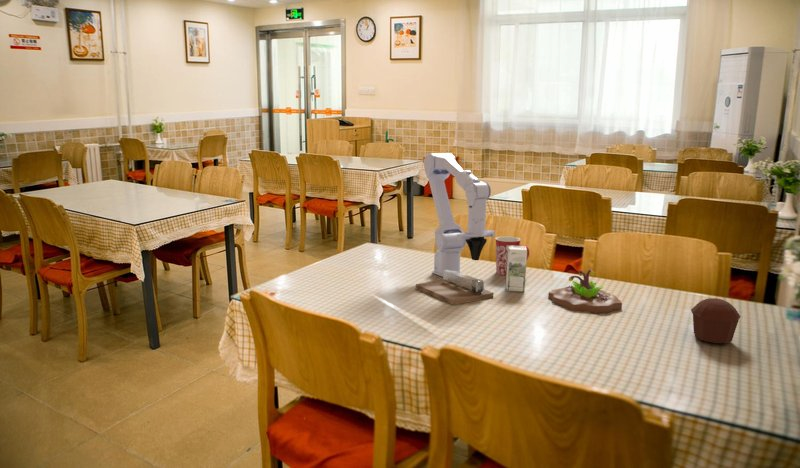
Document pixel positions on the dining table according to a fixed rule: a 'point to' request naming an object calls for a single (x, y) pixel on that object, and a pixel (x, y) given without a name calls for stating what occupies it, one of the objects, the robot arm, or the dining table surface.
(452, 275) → the swing bar
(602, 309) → the plant
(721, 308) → the muffin
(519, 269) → the syrup box
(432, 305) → the dining table surface
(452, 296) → the label board
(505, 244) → the mug
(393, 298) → the dining table surface
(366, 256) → the dining table surface
